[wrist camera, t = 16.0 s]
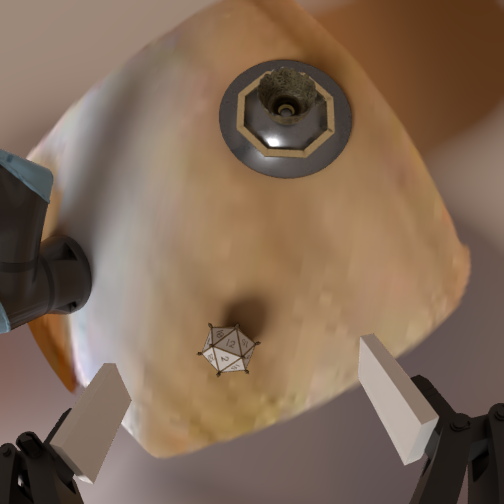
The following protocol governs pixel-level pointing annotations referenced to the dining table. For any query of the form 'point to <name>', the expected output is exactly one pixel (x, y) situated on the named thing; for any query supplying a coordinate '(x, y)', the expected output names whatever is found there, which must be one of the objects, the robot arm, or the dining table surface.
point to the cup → (286, 95)
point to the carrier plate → (284, 136)
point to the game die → (228, 349)
